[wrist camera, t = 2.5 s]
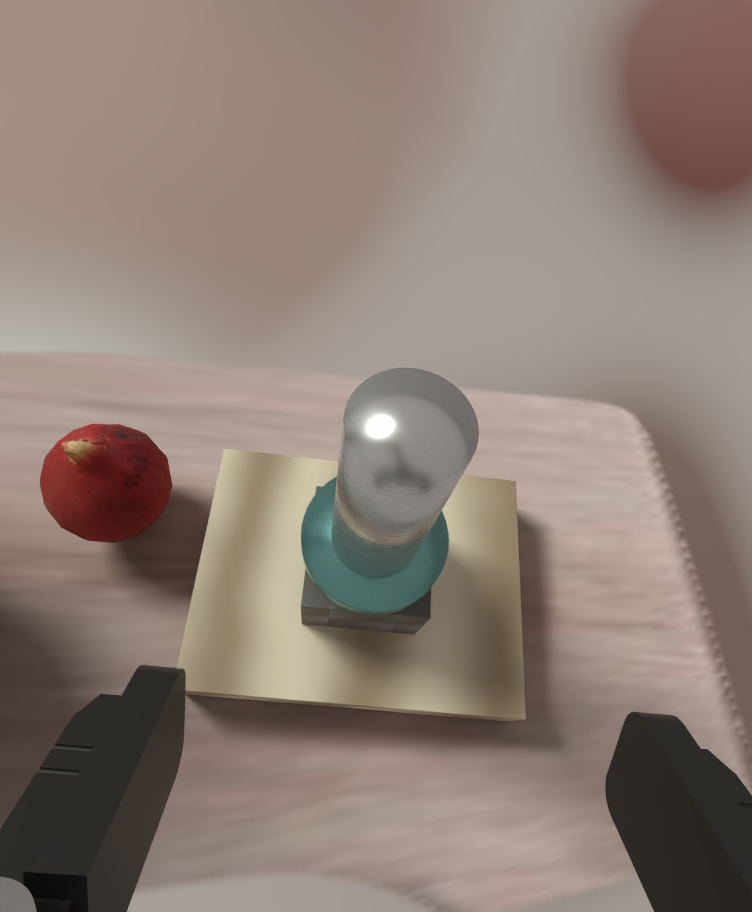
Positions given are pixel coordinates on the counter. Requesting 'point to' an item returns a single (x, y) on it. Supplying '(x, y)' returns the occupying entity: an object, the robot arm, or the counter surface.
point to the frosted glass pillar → (389, 492)
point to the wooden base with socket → (345, 632)
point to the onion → (105, 482)
